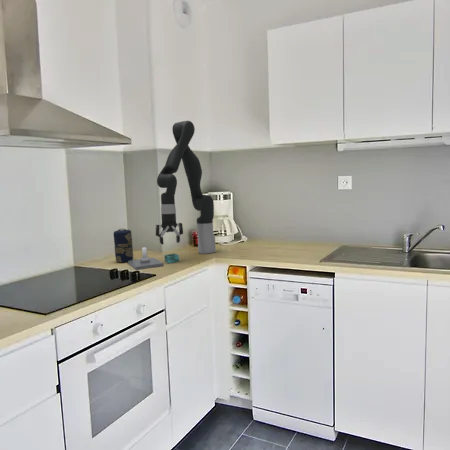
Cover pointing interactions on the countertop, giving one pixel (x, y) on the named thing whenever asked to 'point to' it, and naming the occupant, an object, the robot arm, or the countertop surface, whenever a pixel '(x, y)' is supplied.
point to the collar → (171, 258)
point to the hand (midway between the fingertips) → (170, 243)
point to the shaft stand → (145, 261)
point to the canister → (123, 245)
